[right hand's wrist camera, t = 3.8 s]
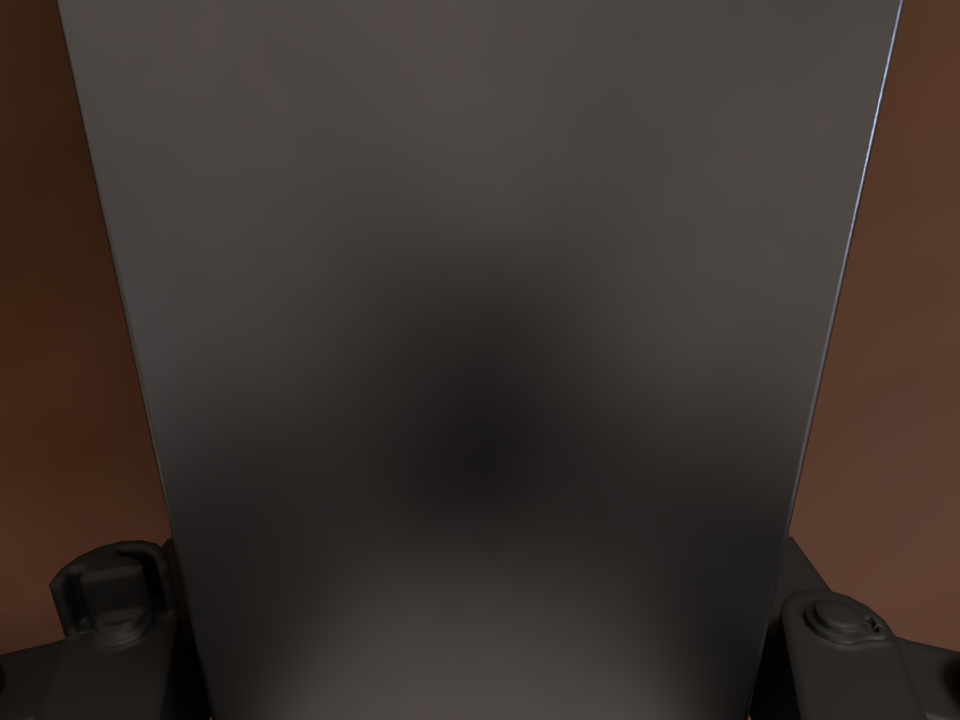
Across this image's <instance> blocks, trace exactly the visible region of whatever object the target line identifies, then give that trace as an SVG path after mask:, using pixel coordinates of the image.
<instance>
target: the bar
mask: <svg viewBox="0 0 960 720" xmlns="http://www.w3.org/2000/svg"><path fill="white" fill-rule="evenodd" d="M56 4H57V9H58V13H59V18H60V23H61V27H62V32H63V36H64V41H65V46H66V50H67V55H68V59H69V64H70V69H71V73H72V78H73V82H74V87H75V92H76V96H77V101H78V105H79V110H80V114H81V119H82V124H83V128H84V133H85V137H86V142H87V147H88V151H89V156H90V160H91V165H92V170H93V174H94V179H95V183H96V188H97V193H98V197H99V202H100V206H101V211H102V216H103V220H104V225H105V229H106V234H107V239H108V243H109V248H110V252H111V257H112V262H113V266H114V271H115V275H116V280H117V284H118V289H119V294H120V298H121V303H122V307H123V312H124V317H125V321H126V326H127V330H128V335H129V340H130V344H131V349H132V353H133V358H134V363H135V367H136V372H137V376H138V381H139V386H140V390H141V395H142V399H143V404H144V409H145V413H146V418H147V422H148V427H149V432H150V436H151V441H152V445H153V450H154V454H155V459H156V464H157V468H158V473H159V477H160V482H161V487H162V491H163V496H164V500H165V505H166V510H167V514H168V519H169V523H170V528H171V533H172V537H173V542H174V546H175V551H176V556H177V560H178V565H179V569H180V574H181V579H182V583H183V588H184V592H185V597H186V602H187V606H188V611H189V615H190V620H191V624H192V629H193V634H194V638H195V643H196V647H197V652H198V657H199V661H200V666H201V670H202V675H203V680H204V684H205V689H206V693H207V698H208V703H209V707H210V712H211V716H212V720H748V716H749V711H750V706H751V702H752V697H753V693H754V688H755V684H756V679H757V674H758V670H759V665H760V661H761V656H762V651H763V647H764V642H765V638H766V633H767V628H768V624H769V619H770V615H771V610H772V606H773V601H774V596H775V592H776V587H777V583H778V578H779V573H780V569H781V564H782V560H783V555H784V551H785V546H786V541H787V537H788V532H789V528H790V523H791V518H792V514H793V509H794V505H795V500H796V495H797V491H798V486H799V482H800V477H801V473H802V468H803V463H804V459H805V454H806V450H807V445H808V440H809V436H810V431H811V427H812V422H813V417H814V413H815V408H816V404H817V399H818V395H819V390H820V385H821V381H822V376H823V372H824V367H825V362H826V358H827V353H828V349H829V344H830V340H831V335H832V330H833V326H834V321H835V317H836V312H837V307H838V303H839V298H840V294H841V289H842V284H843V280H844V275H845V271H846V266H847V262H848V257H849V252H850V248H851V243H852V239H853V234H854V229H855V225H856V220H857V216H858V211H859V206H860V202H861V197H862V193H863V188H864V184H865V179H866V174H867V170H868V165H869V161H870V156H871V151H872V147H873V142H874V138H875V133H876V128H877V124H878V119H879V115H880V110H881V106H882V101H883V96H884V92H885V87H886V83H887V78H888V73H889V69H890V64H891V60H892V55H893V51H894V46H895V41H896V37H897V32H898V28H899V23H900V18H901V14H902V9H903V5H904V0H56Z"/></svg>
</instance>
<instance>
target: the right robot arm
mask: <svg viewBox="0 0 960 720" xmlns="http://www.w3.org/2000/svg"><path fill="white" fill-rule="evenodd" d="M49 587H50V590H51V593H52V596H53V599H54V602H55V606H56V609H57V612H58V615H59V618H60V621H61V624H62V628H63V631H64V634H65V639H63V640H59V641H56V642H53V643H49V644H45V645H41V646H36V647H32V648H28V649H24V650H19V651H15V652H11V653H6V654H2V655H0V720H210V718H211V712H210V707H209V703H208V698H207V693H206V689H205V684H204V680H203V675H202V670H201V666H200V661H199V657H198V652H197V647H196V643H195V638H194V634H193V629H192V624H191V620H190V615H189V611H188V606H187V602H186V597H185V592H184V588H183V583H182V579H181V574H180V569H179V565H178V560H177V556H176V551H175V546H174V542H173V537H172V534H171V538H170V539H168V540H167V541H166V542H165V544H164V545H163V547H162V548H161V547H160V546H159V545H157V544H155V543H151V542H146V541H142V540H136V541H120V542H117V543H113V544H109V545H105V546H102V547H98V548H96V549H94V550H92V551H90V552H88V553H85V554H83V555H81V556H79V557H77V558H76V559H74V560H73V561H72V562H70V563H69V564H68V565H66V566H65V567H64V568H62V569H61V570H60V571H59V572H58V573H57V575H56V576H55V577H54V579H53V580H52V581H51V582H50V584H49ZM749 715H750V718H751V720H960V652H957V651H952V650H948V649H944V648H939V647H935V646H931V645H926V644H922V643H918V642H913V641H909V640H906V639H903V638H899V637H896V636H895V635H894V634H893V632H892V631H891V629H890V628H889V626H888V625H887V623H886V622H885V620H883V619H882V618H881V617H880V616H879V615H877V614H876V613H875V612H874V611H873V610H872V609H870V608H869V607H868V606H866V605H864V604H862V603H860V602H858V601H856V600H854V599H853V598H851V597H849V596H846V595H843V594H839V593H836V592H833V591H831V590H830V588H829V587H828V586H827V584H826V583H825V581H824V580H823V579H822V577H821V576H820V575H819V573H818V572H817V570H816V569H815V568H814V566H813V565H812V564H811V562H810V561H809V559H808V558H807V557H806V555H805V554H804V553H803V551H802V550H801V548H800V547H799V546H798V544H797V543H796V542H795V540H794V539H793V537H790V536H789V532H788V537H787V541H786V546H785V551H784V555H783V560H782V564H781V569H780V573H779V578H778V583H777V587H776V592H775V596H774V601H773V606H772V610H771V615H770V619H769V624H768V628H767V633H766V638H765V642H764V647H763V651H762V656H761V661H760V665H759V670H758V674H757V679H756V684H755V688H754V693H753V697H752V702H751V706H750V711H749Z"/></svg>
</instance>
